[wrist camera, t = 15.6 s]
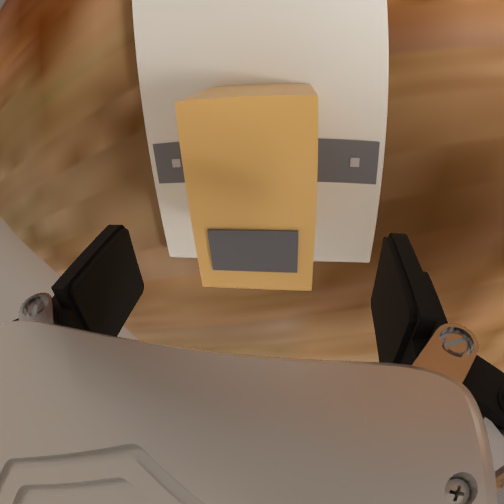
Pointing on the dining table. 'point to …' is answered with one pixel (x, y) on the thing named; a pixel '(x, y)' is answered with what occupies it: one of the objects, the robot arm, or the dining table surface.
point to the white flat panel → (273, 72)
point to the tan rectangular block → (252, 183)
